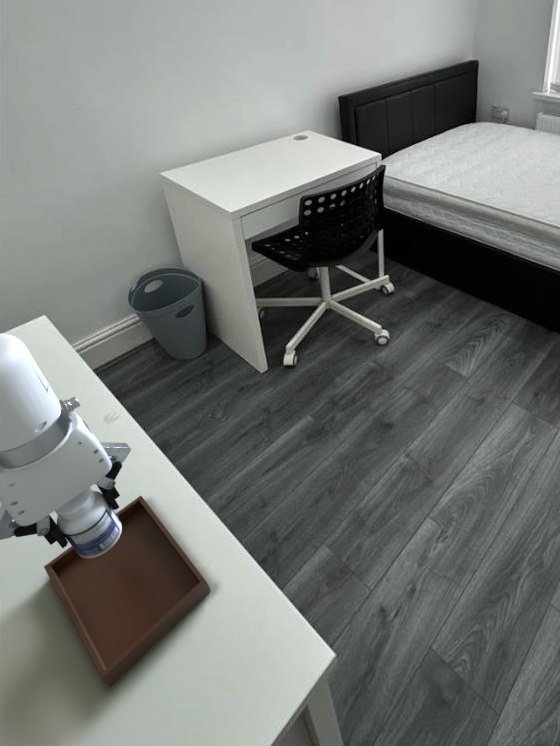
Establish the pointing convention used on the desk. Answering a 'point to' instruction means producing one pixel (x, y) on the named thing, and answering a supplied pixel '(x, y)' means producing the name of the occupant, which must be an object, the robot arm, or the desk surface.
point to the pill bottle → (89, 524)
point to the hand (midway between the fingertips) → (87, 519)
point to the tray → (127, 590)
